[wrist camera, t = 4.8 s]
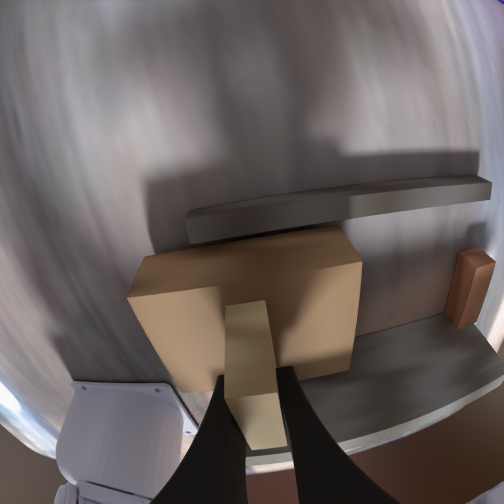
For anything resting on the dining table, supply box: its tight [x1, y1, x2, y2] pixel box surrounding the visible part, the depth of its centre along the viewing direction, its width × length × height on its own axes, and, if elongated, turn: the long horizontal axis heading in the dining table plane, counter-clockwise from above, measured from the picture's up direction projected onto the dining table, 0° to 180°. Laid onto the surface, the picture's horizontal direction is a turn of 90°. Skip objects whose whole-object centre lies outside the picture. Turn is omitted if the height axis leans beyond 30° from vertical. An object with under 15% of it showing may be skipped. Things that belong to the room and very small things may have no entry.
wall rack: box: [184, 175, 504, 466], centre depth 12 cm, size 18×12×7 cm, turn 99°
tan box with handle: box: [127, 225, 362, 450], centre depth 12 cm, size 9×7×7 cm
